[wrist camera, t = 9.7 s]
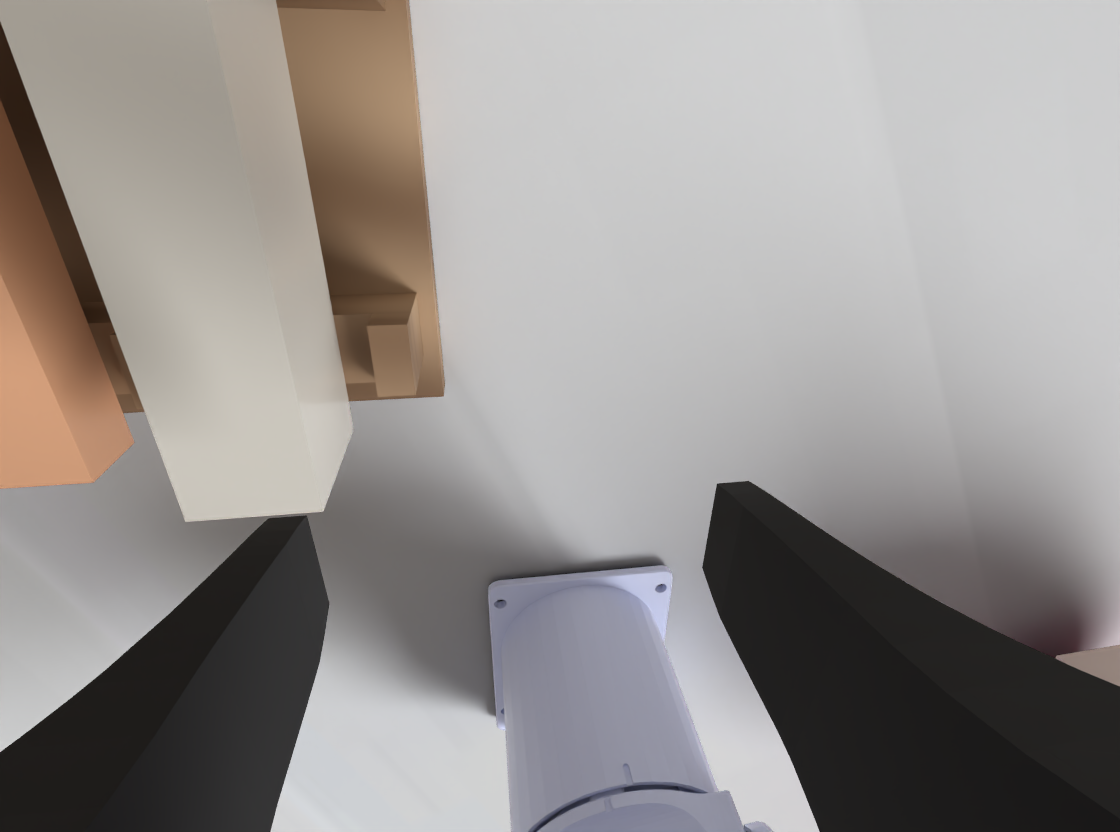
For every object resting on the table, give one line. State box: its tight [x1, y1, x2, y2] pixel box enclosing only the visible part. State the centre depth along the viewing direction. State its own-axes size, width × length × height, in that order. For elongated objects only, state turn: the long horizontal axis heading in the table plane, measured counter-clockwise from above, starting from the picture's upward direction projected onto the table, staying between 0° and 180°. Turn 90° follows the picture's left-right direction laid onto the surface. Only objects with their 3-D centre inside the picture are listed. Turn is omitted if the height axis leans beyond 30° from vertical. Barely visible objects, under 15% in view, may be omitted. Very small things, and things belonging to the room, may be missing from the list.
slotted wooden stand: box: [0, 0, 445, 413], centre depth 14 cm, size 14×14×4 cm
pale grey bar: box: [0, 0, 354, 522], centre depth 12 cm, size 14×3×4 cm, turn 178°
